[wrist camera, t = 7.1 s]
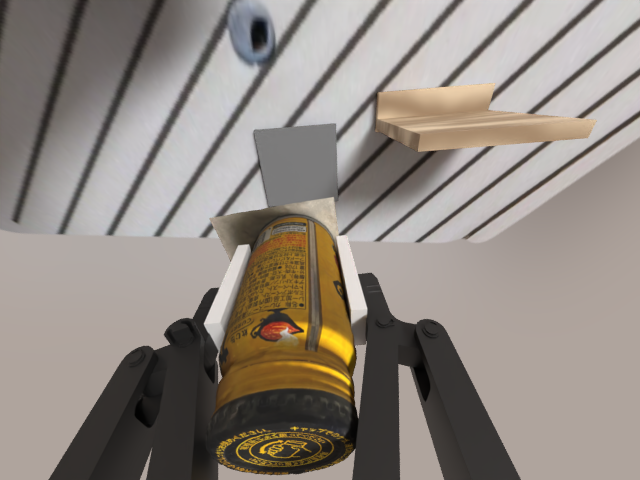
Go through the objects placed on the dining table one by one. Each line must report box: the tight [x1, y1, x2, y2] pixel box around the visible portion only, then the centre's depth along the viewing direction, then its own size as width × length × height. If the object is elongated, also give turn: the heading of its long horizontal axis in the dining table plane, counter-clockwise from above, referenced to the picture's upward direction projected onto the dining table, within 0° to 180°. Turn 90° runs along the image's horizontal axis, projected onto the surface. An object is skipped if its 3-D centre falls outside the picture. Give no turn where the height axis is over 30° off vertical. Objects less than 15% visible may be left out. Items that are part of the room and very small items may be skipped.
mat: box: [254, 124, 338, 206], centre depth 38 cm, size 12×12×1 cm
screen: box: [375, 83, 597, 152], centre depth 27 cm, size 5×16×16 cm, turn 94°
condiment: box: [206, 197, 359, 475], centre depth 13 cm, size 7×8×12 cm
